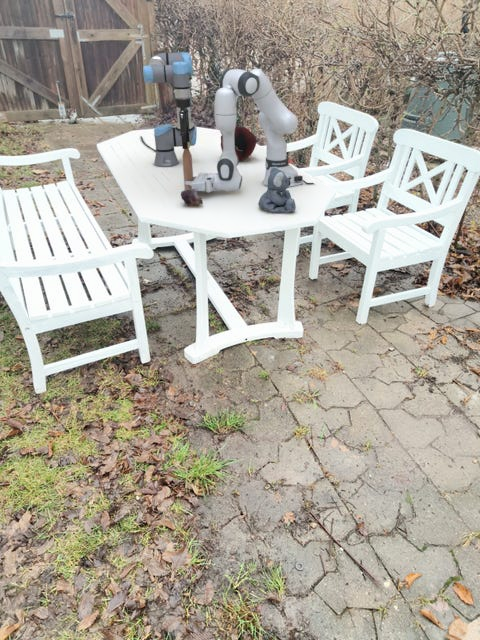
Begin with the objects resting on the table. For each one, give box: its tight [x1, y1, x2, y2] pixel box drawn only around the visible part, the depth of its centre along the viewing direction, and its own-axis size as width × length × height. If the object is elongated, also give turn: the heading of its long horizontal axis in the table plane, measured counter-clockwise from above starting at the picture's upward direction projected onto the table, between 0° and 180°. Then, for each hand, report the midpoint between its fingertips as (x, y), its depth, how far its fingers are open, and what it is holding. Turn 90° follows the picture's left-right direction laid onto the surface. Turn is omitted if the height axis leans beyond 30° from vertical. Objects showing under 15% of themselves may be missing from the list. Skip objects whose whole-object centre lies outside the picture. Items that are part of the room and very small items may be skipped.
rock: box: [180, 189, 204, 207], centre depth 229 cm, size 12×9×10 cm
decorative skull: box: [219, 125, 257, 162], centre depth 297 cm, size 21×24×25 cm
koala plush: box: [257, 167, 297, 214], centre depth 221 cm, size 17×18×20 cm
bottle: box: [181, 148, 194, 191], centre depth 240 cm, size 5×5×26 cm
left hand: (186, 147), depth 233 cm, fingers open, 6 cm apart
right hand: (187, 180), depth 244 cm, fingers closed on bottle, 5 cm apart
